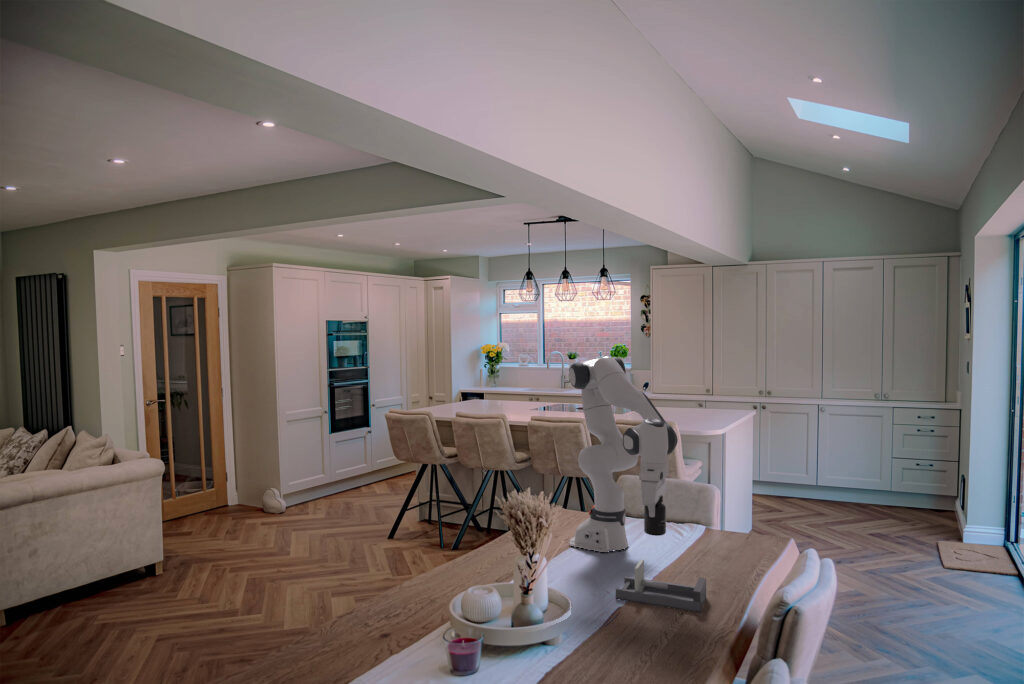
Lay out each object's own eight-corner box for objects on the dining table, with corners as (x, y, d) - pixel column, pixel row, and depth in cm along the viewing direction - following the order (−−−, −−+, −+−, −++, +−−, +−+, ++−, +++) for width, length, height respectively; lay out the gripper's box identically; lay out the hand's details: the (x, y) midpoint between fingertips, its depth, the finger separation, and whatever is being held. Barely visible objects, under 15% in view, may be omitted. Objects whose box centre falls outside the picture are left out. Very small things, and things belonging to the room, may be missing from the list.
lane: (615, 599, 194) (615, 579, 194) (625, 585, 204) (625, 567, 204) (700, 612, 184) (700, 592, 184) (706, 598, 194) (705, 578, 194)
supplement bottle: (666, 536, 201) (666, 498, 201) (644, 535, 202) (644, 497, 202) (665, 530, 208) (665, 493, 207) (644, 529, 209) (643, 492, 209)
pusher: (634, 597, 193) (634, 568, 193) (641, 588, 201) (640, 559, 201) (664, 602, 189) (664, 572, 189) (670, 592, 197) (669, 563, 197)
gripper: (651, 463, 216) (651, 504, 216) (637, 475, 197) (638, 520, 197) (670, 464, 213) (670, 506, 213) (658, 477, 194) (658, 522, 194)
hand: (654, 513), depth 205 cm, fingers closed on supplement bottle, 7 cm apart
